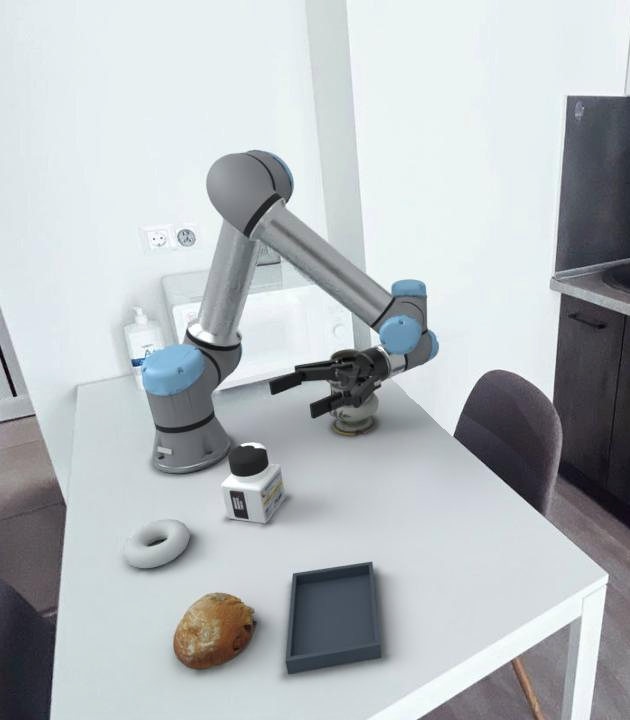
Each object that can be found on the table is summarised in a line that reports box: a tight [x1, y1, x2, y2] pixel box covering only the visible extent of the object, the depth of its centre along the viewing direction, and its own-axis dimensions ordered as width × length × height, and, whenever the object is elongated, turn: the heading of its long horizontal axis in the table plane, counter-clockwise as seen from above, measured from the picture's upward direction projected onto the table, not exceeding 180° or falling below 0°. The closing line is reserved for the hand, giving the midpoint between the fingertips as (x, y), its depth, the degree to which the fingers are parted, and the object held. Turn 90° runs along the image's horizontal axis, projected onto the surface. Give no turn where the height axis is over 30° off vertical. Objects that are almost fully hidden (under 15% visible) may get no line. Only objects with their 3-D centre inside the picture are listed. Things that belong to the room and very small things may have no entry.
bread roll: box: [172, 591, 258, 670], centre depth 75 cm, size 10×10×8 cm
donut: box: [123, 518, 191, 569], centre depth 91 cm, size 10×4×10 cm
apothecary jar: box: [325, 348, 380, 436], centre depth 126 cm, size 12×12×18 cm
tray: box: [284, 561, 382, 675], centre depth 78 cm, size 15×12×2 cm
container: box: [220, 442, 286, 525], centre depth 99 cm, size 8×8×13 cm
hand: (290, 399), depth 100 cm, fingers open, 13 cm apart
